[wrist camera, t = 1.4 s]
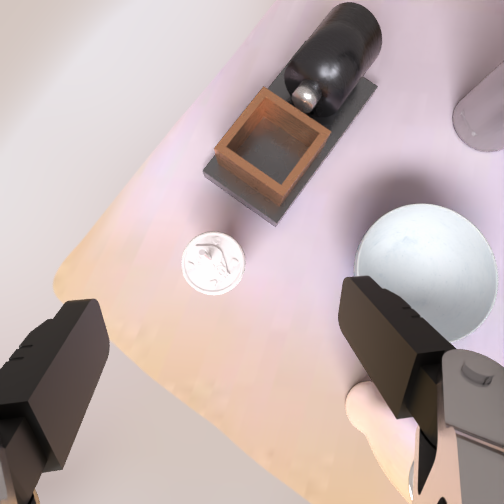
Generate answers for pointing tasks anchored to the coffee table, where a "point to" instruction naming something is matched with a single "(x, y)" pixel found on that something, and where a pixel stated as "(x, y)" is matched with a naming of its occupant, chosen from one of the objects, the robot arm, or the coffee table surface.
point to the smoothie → (213, 263)
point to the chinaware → (432, 266)
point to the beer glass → (384, 435)
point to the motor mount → (299, 115)
